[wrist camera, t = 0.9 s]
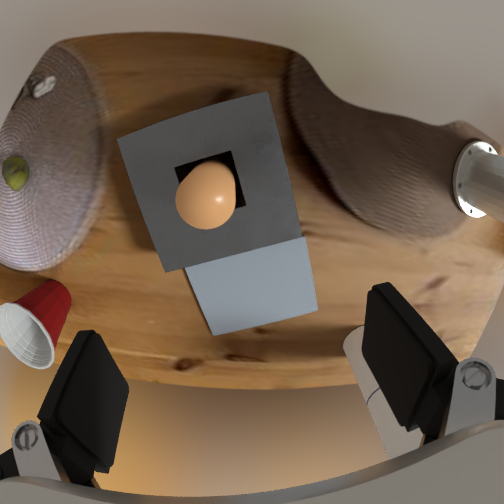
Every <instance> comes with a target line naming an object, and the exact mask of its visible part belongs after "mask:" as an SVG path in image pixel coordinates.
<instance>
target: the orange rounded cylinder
mask: <svg viewBox="0 0 504 504" xmlns="http://www.w3.org/2000/svg"><path fill="white" fill-rule="evenodd" d="M175 202H176V208H177V210H178V213H179V215H180V216H181V217H182V219H183V220H184V221H185V222H186V223H188V224H189V225H191V226H193V227H195V228H199V229H213V228H216V227H219V226H221V225H222V224H224V223H225V222H226V221H227V220H228V219H229V218H230V216H231V215H232V213H233V211H234V208H235V202H236V197H235V175H234V171H233V169H232V167H231V165H230V164H229V163H228V162H227V161H225V160H223V159H221V158H217V157H211V158H207V159H204V160H202V161H201V162H200V163H199V164H198V165H197V166H196V167H195V168H194V169H193V170H192V171H191V172H190V173H189V174H188V175H187V177H186V178H185V179H184V180H183V181H182V182H181V184H180V185H179V187H178V189H177V192H176V198H175Z"/></svg>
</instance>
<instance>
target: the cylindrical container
mask: <svg viewBox="0 0 504 504" xmlns="http://www.w3.org/2000/svg"><path fill="white" fill-rule="evenodd" d="M363 333H364V326H361V327H358V328H356V329H355V330H353V331H352V332H351V333H350V334H349V335H348V336H347V337H346V339H345V340H344V343H343V349H344V352H345V354H346V356H347V359H348V361H349V363H350V366H351V368H352V370H353V373H354V375H355V377H356V380H357V382H358V384H359V386H360V389H361V391H362V394H363V396H364V399H365V401H366V404H367V406H368V408H369V411H370V413H371V416H372V418H373V421H374V423H375V426H376V428H377V431H378V433H379V436H380V439H381V441H382V444H383V446H384V449H385V451H386V454H387V457H388V459H389V460H390V459H393V458H395V457H398V456H400V455H403V454H405V453H408V452H410V451H412V450H415V449H417V448H419V446H420V443H421V439H422V436H423V434H422V432H421V430H420V428H417V429H415V430H413V431H410V432H407V430H406V428H405V426H403V427H401V426H400V425H399V424H398V422H397V420H396V418H395V416H394V414H393V412H392V410H391V408H390V406H389V404H388V402H387V400H386V398H385V396H384V395H383V393H382V391H381V389H380V387H379V385H378V383H377V381H376V380H375V378H374V376H373V374H372V372H371V370H370V368H369V367H368V365H367V363H366V361H365V359H364V357H363V355H362V349H361V348H362V340H363Z"/></svg>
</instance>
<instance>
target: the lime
mask: <svg viewBox="0 0 504 504" xmlns="http://www.w3.org/2000/svg"><path fill="white" fill-rule="evenodd" d="M2 173H3V176H4V179H5V181H6V183H7V185H9V186H10V188H11V189H13V190H14V191H18V190H20V189H21V188H22V187H23V186H24V184H25V183H26V181H27V179H28V175H29V168H28V165H27V163H26V161H25V160H24V159H23V158H21V157H16V156H11V157H9V158H7V159H6V160H5V161H4V162H3V164H2Z"/></svg>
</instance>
